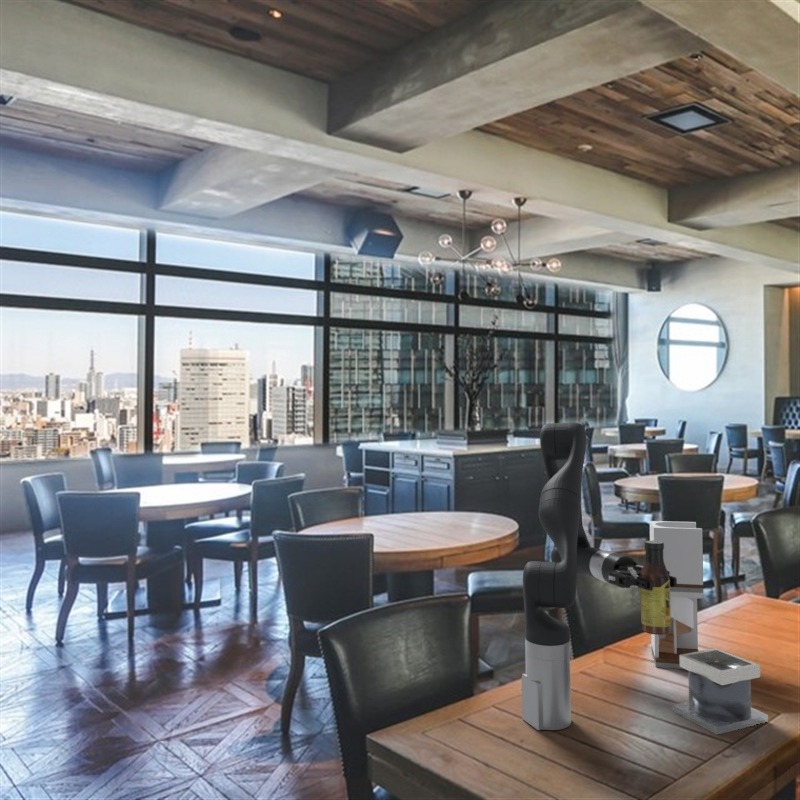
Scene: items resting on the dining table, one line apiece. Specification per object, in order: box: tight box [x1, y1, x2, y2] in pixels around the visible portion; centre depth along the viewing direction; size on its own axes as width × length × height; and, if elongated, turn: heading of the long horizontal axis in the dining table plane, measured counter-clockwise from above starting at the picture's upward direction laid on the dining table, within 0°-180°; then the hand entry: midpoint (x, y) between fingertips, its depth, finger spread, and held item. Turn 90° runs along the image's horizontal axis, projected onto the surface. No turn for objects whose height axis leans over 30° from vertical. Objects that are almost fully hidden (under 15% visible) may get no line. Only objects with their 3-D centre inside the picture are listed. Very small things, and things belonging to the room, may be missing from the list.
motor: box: [672, 647, 769, 736], centre depth 153 cm, size 14×12×12 cm
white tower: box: [649, 520, 704, 670], centre depth 186 cm, size 11×11×35 cm
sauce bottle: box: [639, 540, 671, 635], centre depth 161 cm, size 6×6×20 cm
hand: (663, 584), depth 159 cm, fingers closed on sauce bottle, 6 cm apart
